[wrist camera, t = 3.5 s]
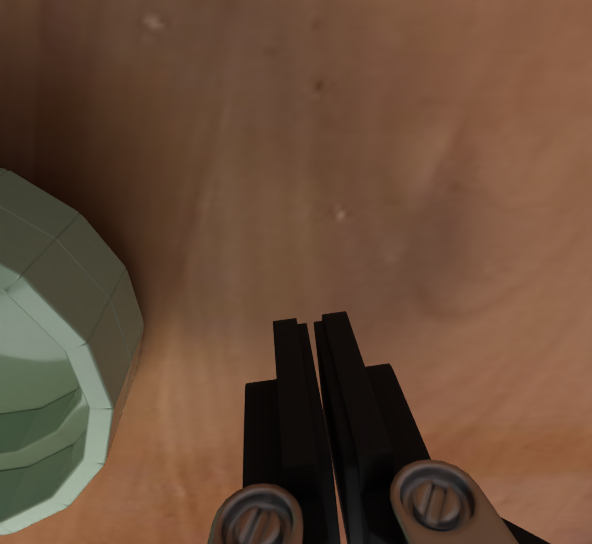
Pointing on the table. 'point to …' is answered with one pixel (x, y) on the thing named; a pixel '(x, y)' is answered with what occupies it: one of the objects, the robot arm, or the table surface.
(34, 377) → the celadon bowl
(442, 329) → the table surface
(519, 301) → the table surface
